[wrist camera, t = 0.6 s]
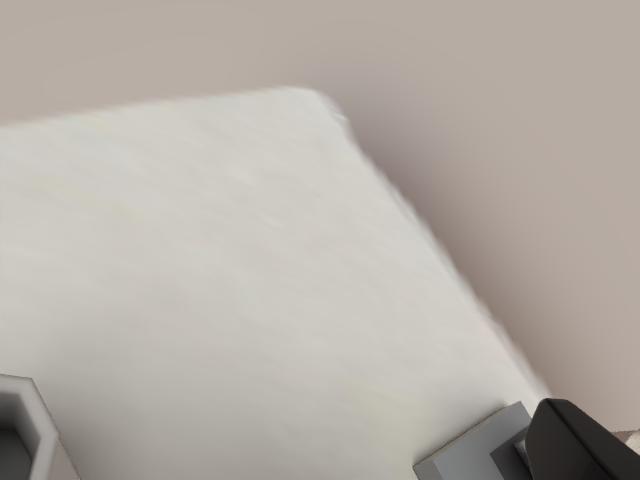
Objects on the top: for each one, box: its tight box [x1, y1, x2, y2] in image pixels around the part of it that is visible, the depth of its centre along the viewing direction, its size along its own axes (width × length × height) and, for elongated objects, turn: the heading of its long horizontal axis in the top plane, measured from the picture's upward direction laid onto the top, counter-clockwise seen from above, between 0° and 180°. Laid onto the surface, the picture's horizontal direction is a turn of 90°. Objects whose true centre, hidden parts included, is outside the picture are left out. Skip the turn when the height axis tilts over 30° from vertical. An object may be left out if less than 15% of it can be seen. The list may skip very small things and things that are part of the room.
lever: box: [514, 429, 640, 474], centre depth 21 cm, size 3×3×12 cm
